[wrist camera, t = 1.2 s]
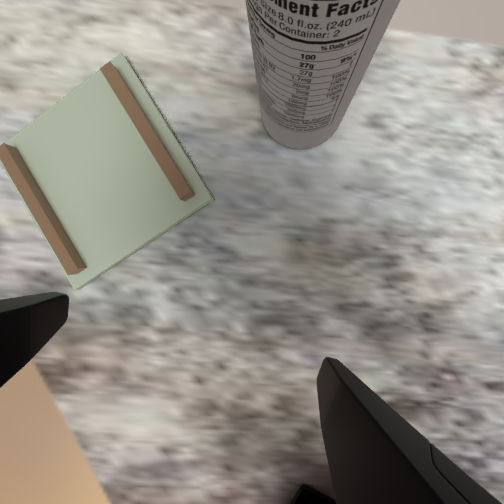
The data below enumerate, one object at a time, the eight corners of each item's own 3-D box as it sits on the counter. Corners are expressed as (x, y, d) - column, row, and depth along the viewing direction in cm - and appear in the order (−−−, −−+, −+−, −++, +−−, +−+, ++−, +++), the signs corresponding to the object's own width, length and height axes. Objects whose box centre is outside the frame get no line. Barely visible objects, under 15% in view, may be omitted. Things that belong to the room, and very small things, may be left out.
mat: (214, 199, 20) (208, 195, 19) (80, 289, 22) (64, 292, 20) (126, 58, 21) (113, 42, 19) (1, 154, 22) (-21, 146, 21)
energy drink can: (357, 101, 19) (632, -418, 4) (310, 168, 20) (411, -82, 5) (290, 60, 20) (327, -537, 5) (247, 127, 20) (153, -220, 5)
